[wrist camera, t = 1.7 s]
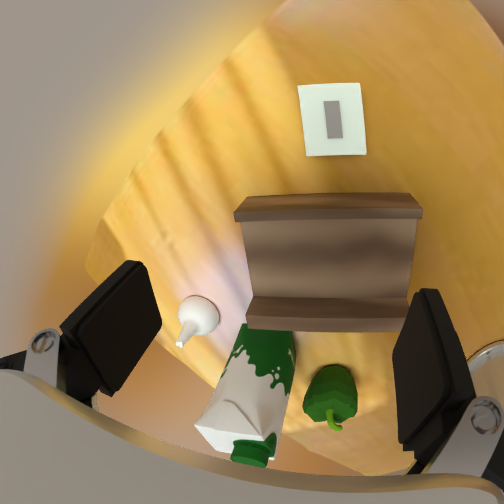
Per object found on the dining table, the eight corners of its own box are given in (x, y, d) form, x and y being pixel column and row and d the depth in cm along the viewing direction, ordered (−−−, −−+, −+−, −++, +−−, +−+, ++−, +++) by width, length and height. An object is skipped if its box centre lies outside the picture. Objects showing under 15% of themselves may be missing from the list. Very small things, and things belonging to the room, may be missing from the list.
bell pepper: (300, 366, 43) (289, 418, 34) (347, 353, 39) (344, 408, 30) (321, 392, 45) (314, 440, 37) (364, 381, 41) (363, 432, 33)
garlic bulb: (229, 314, 42) (214, 350, 34) (204, 331, 44) (186, 366, 37) (199, 285, 40) (178, 318, 33) (175, 305, 43) (153, 337, 36)
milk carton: (302, 358, 42) (276, 476, 25) (248, 357, 45) (207, 464, 28) (294, 317, 38) (260, 452, 21) (234, 318, 41) (178, 436, 24)
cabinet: (353, 88, 23) (361, 81, 17) (358, 145, 26) (368, 156, 20) (303, 90, 24) (296, 84, 18) (310, 147, 27) (305, 158, 21)
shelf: (399, 293, 32) (408, 331, 26) (262, 292, 37) (248, 328, 31) (409, 192, 26) (429, 216, 20) (247, 196, 31) (226, 220, 25)
